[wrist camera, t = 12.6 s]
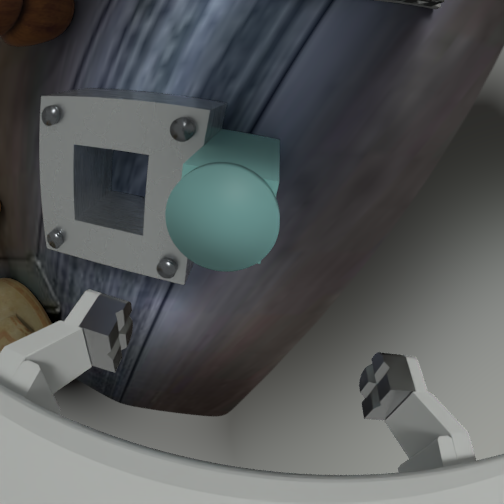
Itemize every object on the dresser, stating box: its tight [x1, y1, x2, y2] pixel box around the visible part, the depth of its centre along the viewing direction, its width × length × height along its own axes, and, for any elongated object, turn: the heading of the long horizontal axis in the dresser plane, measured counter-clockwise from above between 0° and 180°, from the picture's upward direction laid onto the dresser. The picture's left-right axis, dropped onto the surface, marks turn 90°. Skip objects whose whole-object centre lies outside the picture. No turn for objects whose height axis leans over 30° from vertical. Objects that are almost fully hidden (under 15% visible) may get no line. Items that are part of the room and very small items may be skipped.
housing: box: [39, 88, 227, 285], centre depth 25 cm, size 14×14×8 cm
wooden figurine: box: [0, 0, 74, 47], centre depth 14 cm, size 7×6×15 cm
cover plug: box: [165, 129, 280, 272], centre depth 22 cm, size 6×6×13 cm
